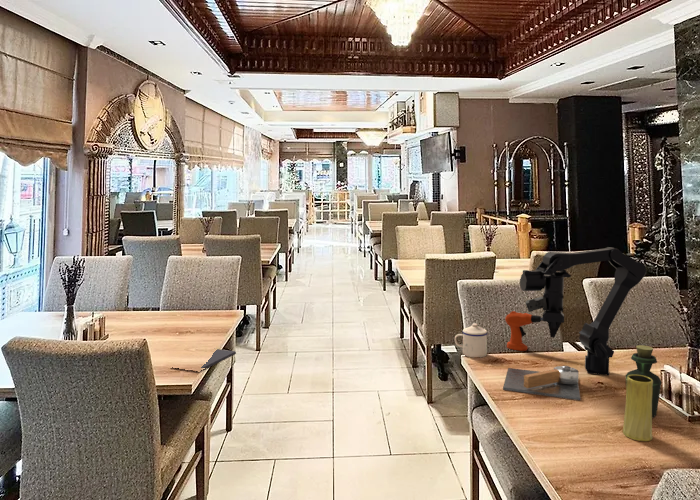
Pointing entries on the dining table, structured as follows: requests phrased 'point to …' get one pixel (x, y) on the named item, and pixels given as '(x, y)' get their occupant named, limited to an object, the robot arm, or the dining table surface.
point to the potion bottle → (647, 372)
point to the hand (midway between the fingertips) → (552, 337)
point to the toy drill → (519, 328)
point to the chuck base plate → (516, 383)
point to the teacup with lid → (473, 341)
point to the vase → (638, 408)
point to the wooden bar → (552, 377)
